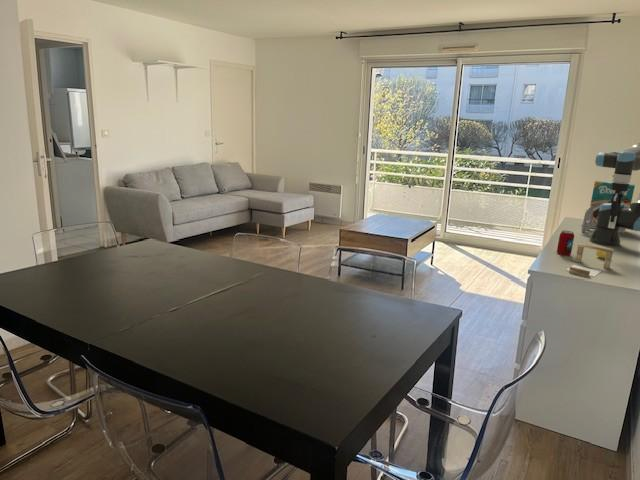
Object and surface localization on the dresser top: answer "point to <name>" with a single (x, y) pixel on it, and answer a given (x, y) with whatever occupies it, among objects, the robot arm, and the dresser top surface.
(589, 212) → the ornament
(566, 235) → the beverage can
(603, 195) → the cake mix box
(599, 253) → the ball
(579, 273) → the wall
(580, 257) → the bridge
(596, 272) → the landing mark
